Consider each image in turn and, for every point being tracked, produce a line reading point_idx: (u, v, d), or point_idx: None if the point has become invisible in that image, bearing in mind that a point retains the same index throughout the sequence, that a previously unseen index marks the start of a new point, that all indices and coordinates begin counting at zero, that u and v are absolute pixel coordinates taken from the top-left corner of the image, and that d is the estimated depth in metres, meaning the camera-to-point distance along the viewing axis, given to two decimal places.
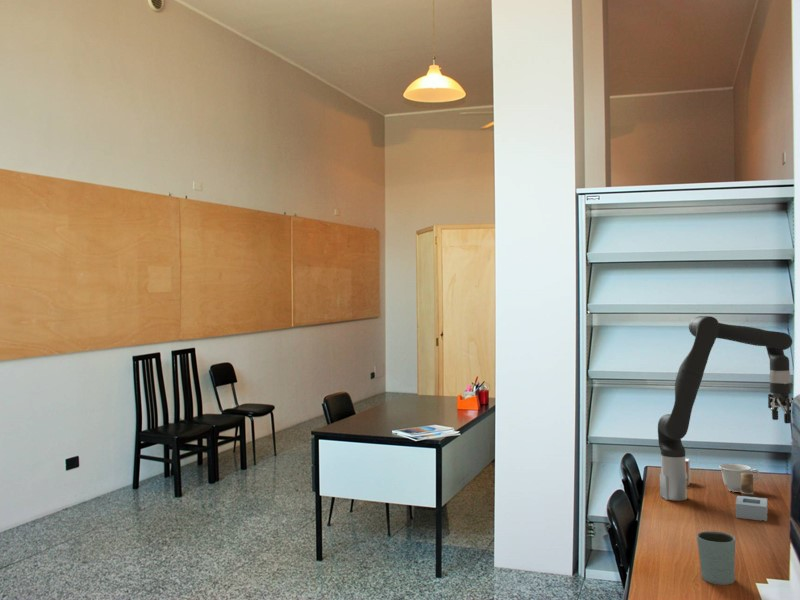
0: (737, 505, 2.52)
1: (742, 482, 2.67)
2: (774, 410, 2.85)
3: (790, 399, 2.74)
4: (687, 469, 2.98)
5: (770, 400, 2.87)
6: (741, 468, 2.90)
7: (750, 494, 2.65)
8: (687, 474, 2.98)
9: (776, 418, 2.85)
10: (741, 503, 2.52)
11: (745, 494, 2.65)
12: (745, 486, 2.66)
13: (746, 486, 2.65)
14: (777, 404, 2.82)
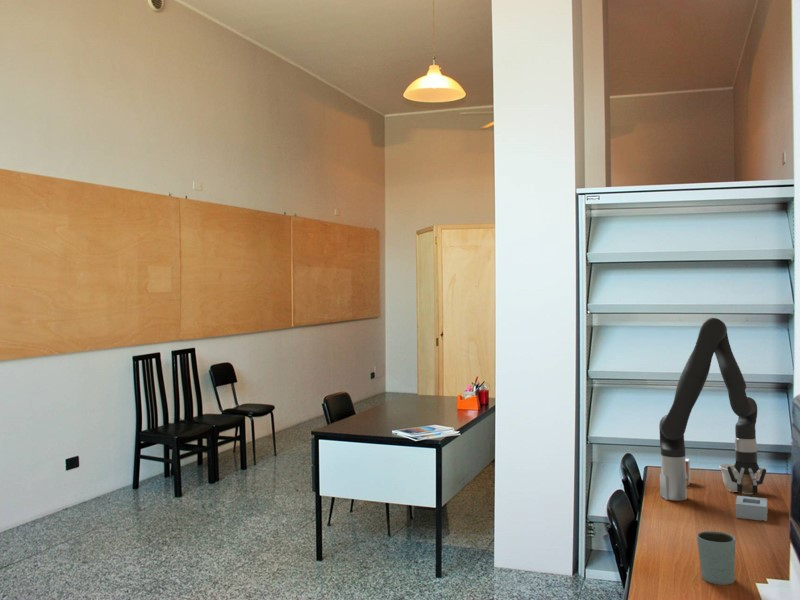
0: (737, 505, 2.52)
1: (742, 482, 2.67)
2: (753, 484, 2.66)
3: None
4: (687, 469, 2.98)
5: None
6: None
7: (750, 494, 2.65)
8: (687, 474, 2.98)
9: None
10: (741, 503, 2.52)
11: (745, 494, 2.65)
12: (745, 486, 2.66)
13: (746, 486, 2.65)
14: None
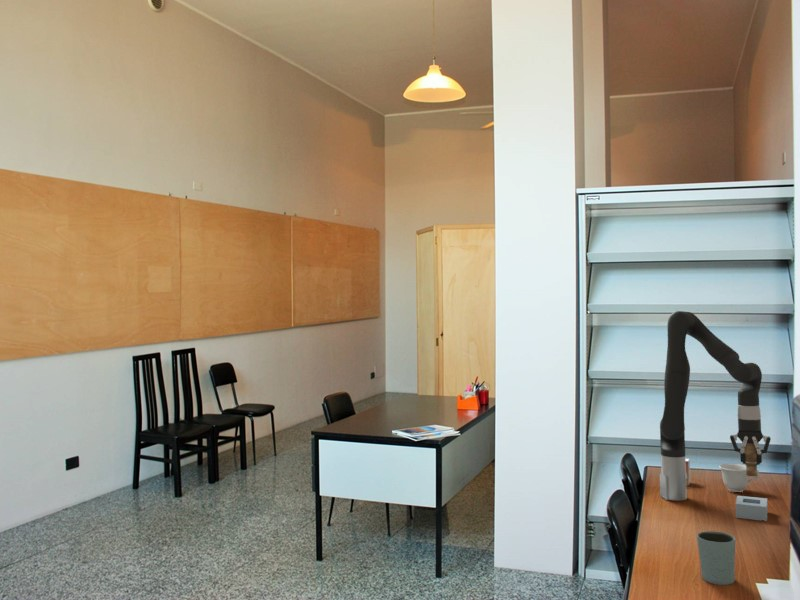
0: (737, 505, 2.52)
1: (746, 451, 2.56)
2: None
3: (730, 437, 2.59)
4: (687, 469, 2.98)
5: None
6: (741, 468, 2.90)
7: (754, 463, 2.54)
8: (687, 474, 2.98)
9: None
10: (741, 503, 2.52)
11: (749, 464, 2.54)
12: (748, 455, 2.55)
13: (750, 455, 2.54)
14: None
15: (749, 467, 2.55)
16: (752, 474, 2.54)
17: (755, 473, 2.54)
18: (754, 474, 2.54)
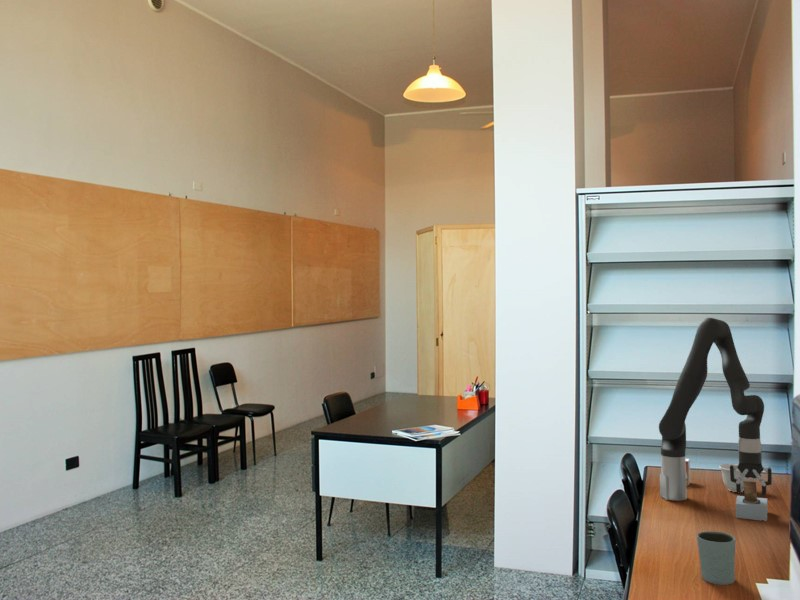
0: (737, 505, 2.52)
1: (745, 490, 2.55)
2: (762, 485, 2.53)
3: (730, 466, 2.58)
4: (687, 469, 2.98)
5: None
6: None
7: None
8: (687, 474, 2.98)
9: (762, 494, 2.53)
10: (741, 503, 2.52)
11: None
12: (748, 494, 2.54)
13: (749, 494, 2.53)
14: None
15: None
16: None
17: None
18: None
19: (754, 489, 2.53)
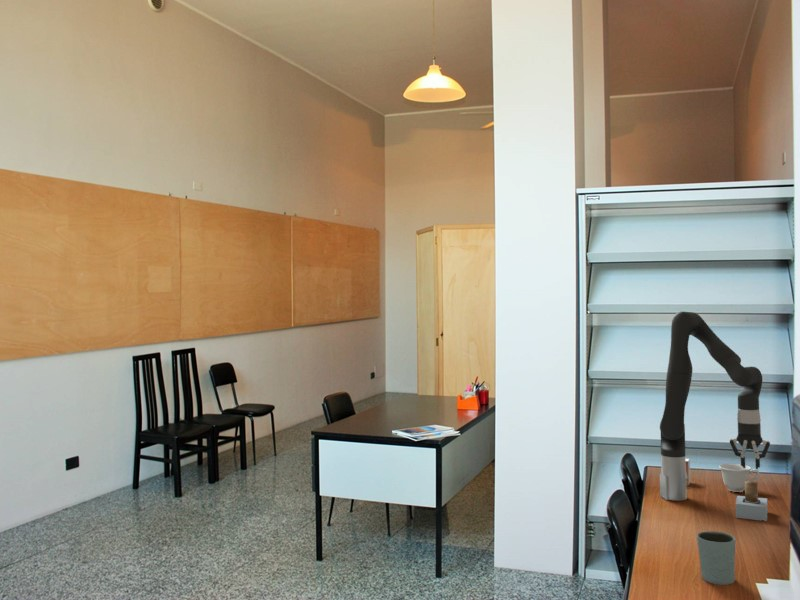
0: (737, 505, 2.52)
1: (746, 491, 2.54)
2: None
3: (730, 441, 2.58)
4: (687, 469, 2.98)
5: None
6: (741, 468, 2.90)
7: None
8: (687, 474, 2.98)
9: None
10: (741, 503, 2.52)
11: None
12: (749, 495, 2.53)
13: (750, 495, 2.53)
14: None
15: None
16: None
17: None
18: None
19: (755, 489, 2.53)
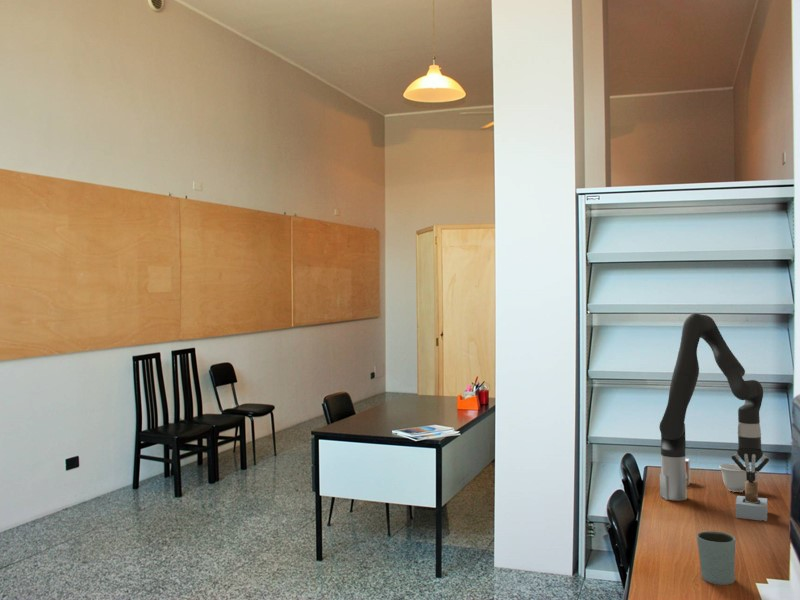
0: (737, 505, 2.52)
1: (746, 491, 2.54)
2: (751, 471, 2.55)
3: None
4: (687, 469, 2.98)
5: None
6: None
7: None
8: (687, 474, 2.98)
9: None
10: (741, 503, 2.52)
11: None
12: (749, 495, 2.53)
13: (750, 495, 2.53)
14: None
15: None
16: None
17: None
18: None
19: (755, 489, 2.53)
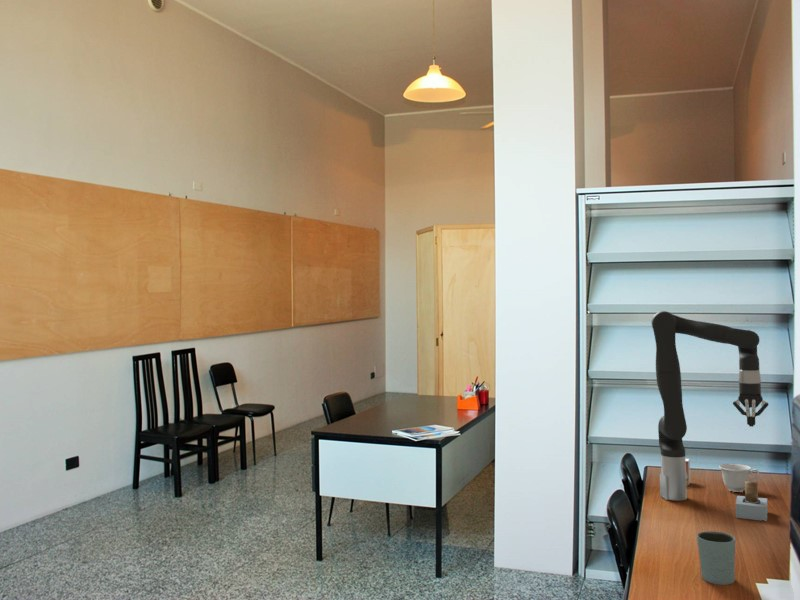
0: (737, 505, 2.52)
1: (746, 491, 2.54)
2: (751, 416, 2.70)
3: None
4: (687, 469, 2.98)
5: None
6: (741, 468, 2.90)
7: None
8: (687, 474, 2.98)
9: None
10: (741, 503, 2.52)
11: None
12: (749, 495, 2.53)
13: (750, 495, 2.53)
14: None
15: None
16: None
17: None
18: None
19: (755, 489, 2.53)
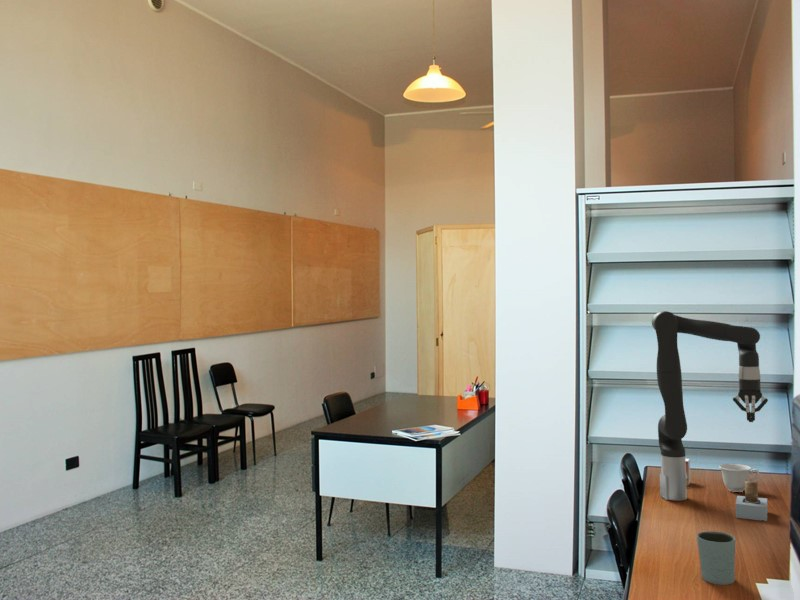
0: (737, 505, 2.52)
1: (746, 491, 2.54)
2: (751, 412, 2.73)
3: (733, 399, 2.75)
4: (687, 469, 2.98)
5: None
6: (741, 468, 2.90)
7: None
8: (687, 474, 2.98)
9: None
10: (741, 503, 2.52)
11: None
12: (749, 495, 2.53)
13: (750, 495, 2.53)
14: None
15: None
16: None
17: None
18: None
19: (755, 489, 2.53)
